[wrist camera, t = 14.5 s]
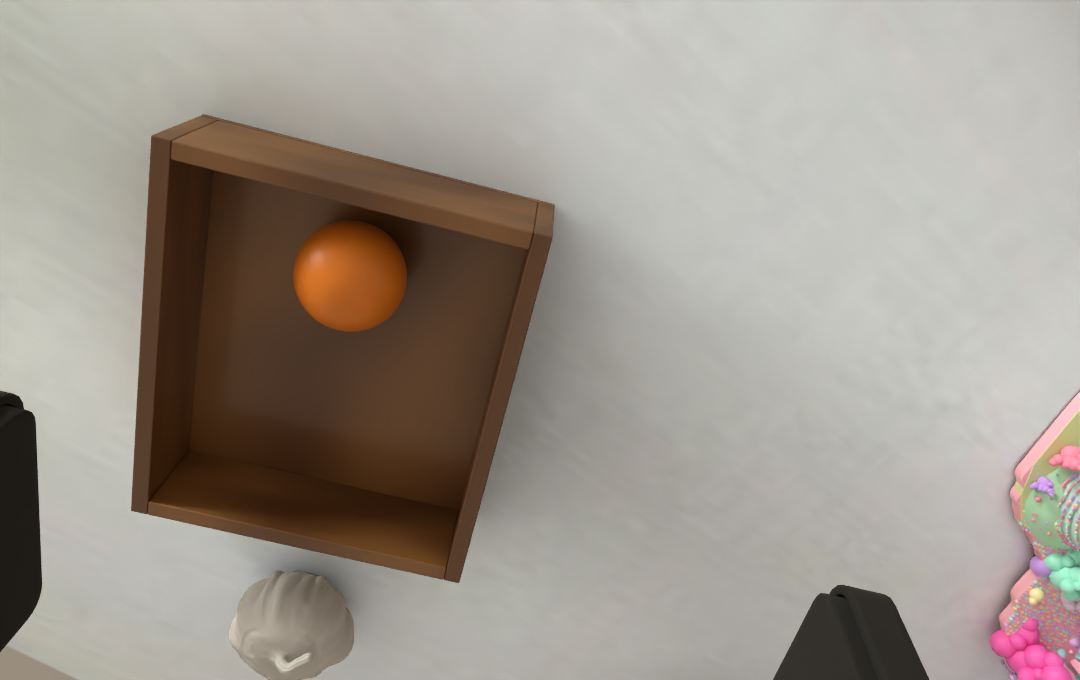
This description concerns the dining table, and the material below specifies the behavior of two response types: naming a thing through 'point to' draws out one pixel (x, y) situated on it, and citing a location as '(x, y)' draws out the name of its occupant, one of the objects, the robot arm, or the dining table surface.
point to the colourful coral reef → (1047, 559)
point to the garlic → (292, 626)
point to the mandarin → (350, 275)
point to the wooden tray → (325, 349)
